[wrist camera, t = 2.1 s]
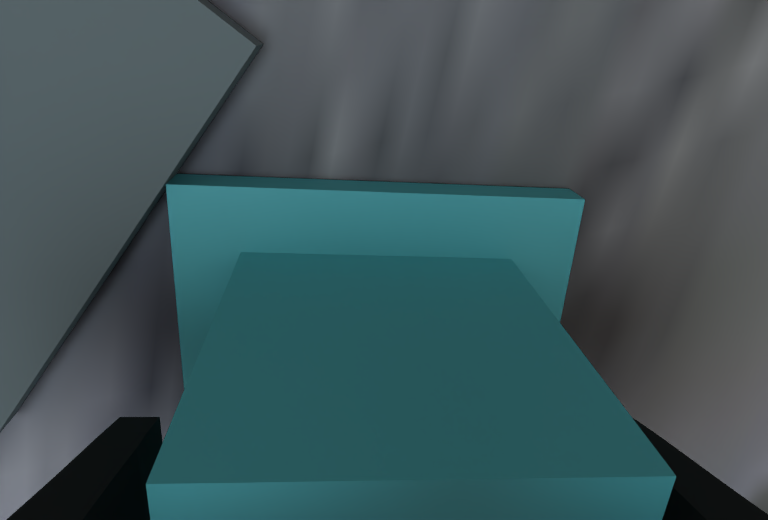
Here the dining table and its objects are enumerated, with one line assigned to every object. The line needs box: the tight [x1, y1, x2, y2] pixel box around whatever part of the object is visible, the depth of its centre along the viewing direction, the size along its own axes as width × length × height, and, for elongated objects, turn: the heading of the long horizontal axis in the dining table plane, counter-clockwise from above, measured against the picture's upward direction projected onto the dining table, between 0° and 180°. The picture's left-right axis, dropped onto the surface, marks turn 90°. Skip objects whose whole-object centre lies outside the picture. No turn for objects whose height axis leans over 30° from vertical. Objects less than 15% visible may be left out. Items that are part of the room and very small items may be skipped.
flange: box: [146, 174, 676, 520], centre depth 10 cm, size 8×8×7 cm
